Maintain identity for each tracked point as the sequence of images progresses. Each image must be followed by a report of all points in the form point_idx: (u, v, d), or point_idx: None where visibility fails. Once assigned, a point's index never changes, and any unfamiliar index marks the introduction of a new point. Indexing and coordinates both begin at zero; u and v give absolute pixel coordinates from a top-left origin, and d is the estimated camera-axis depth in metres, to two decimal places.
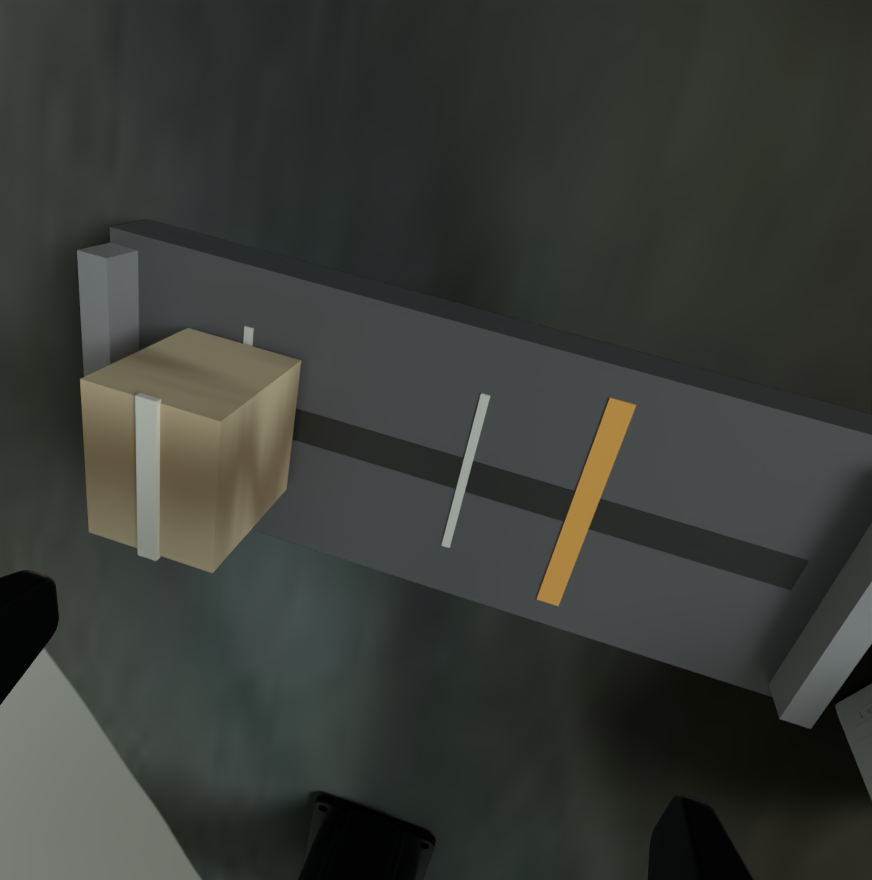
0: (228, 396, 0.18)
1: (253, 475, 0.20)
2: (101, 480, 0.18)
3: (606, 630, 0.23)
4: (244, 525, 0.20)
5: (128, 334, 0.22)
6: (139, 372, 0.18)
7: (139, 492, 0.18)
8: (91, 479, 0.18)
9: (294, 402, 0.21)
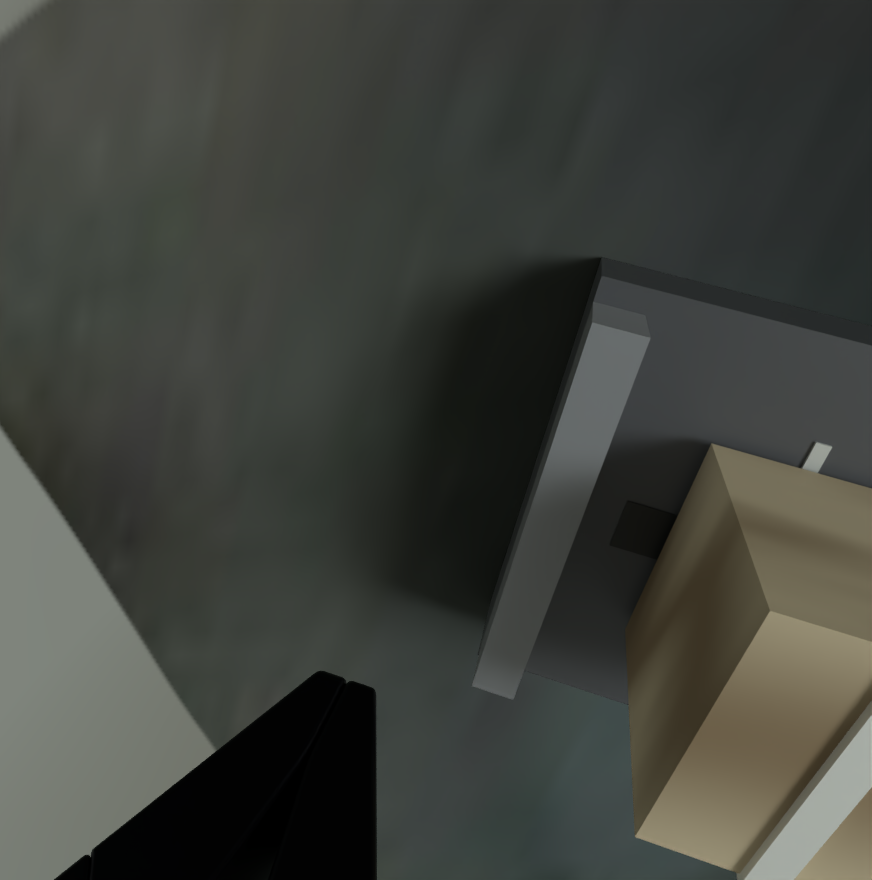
0: None
1: None
2: (715, 770, 0.10)
3: None
4: None
5: None
6: (811, 573, 0.09)
7: (811, 803, 0.09)
8: (690, 766, 0.10)
9: None
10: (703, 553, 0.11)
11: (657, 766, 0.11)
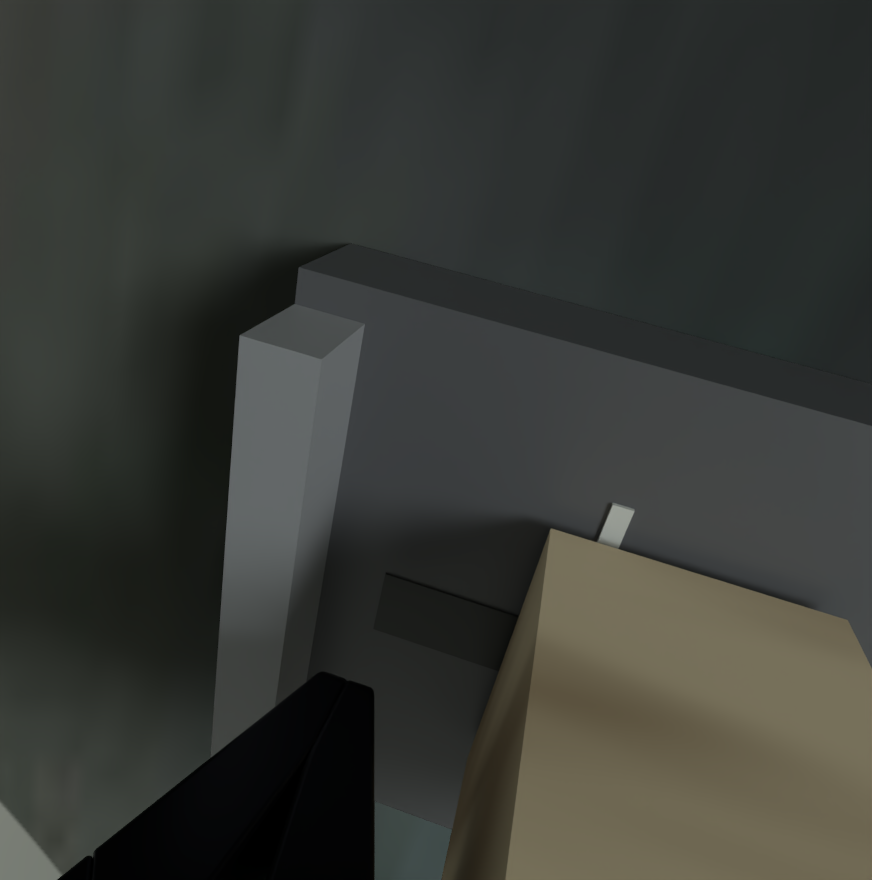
0: None
1: None
2: None
3: None
4: None
5: (323, 511, 0.09)
6: (618, 799, 0.05)
7: None
8: None
9: None
10: (509, 707, 0.08)
11: None
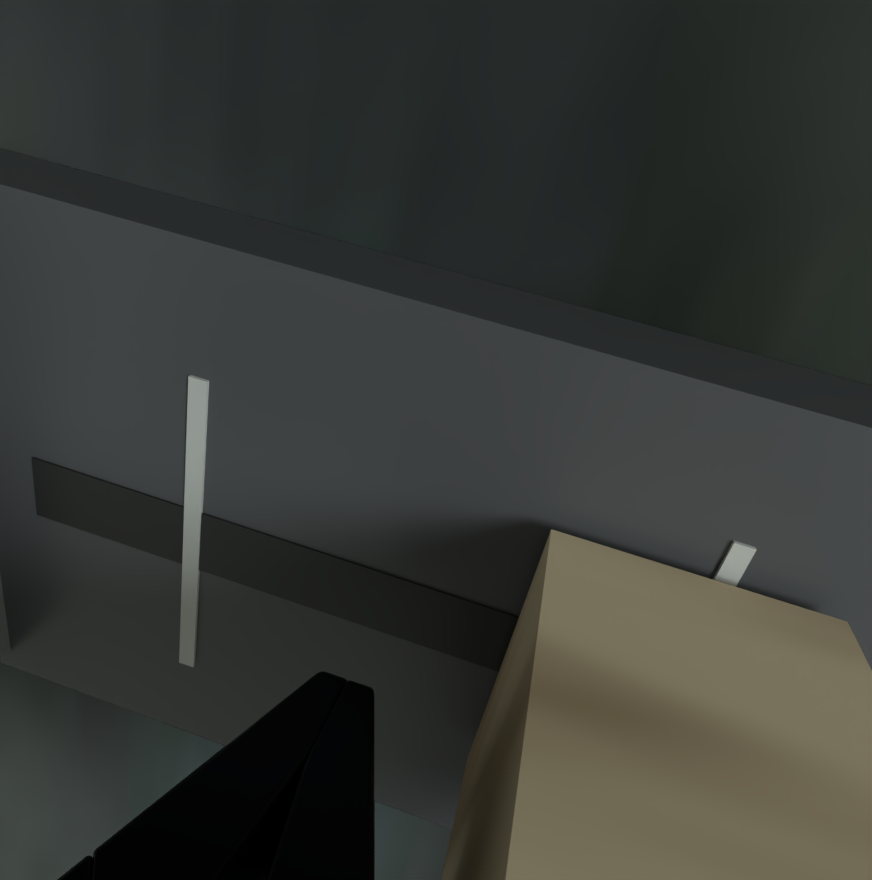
0: None
1: None
2: None
3: None
4: None
5: None
6: (618, 800, 0.06)
7: None
8: None
9: None
10: (508, 708, 0.08)
11: None
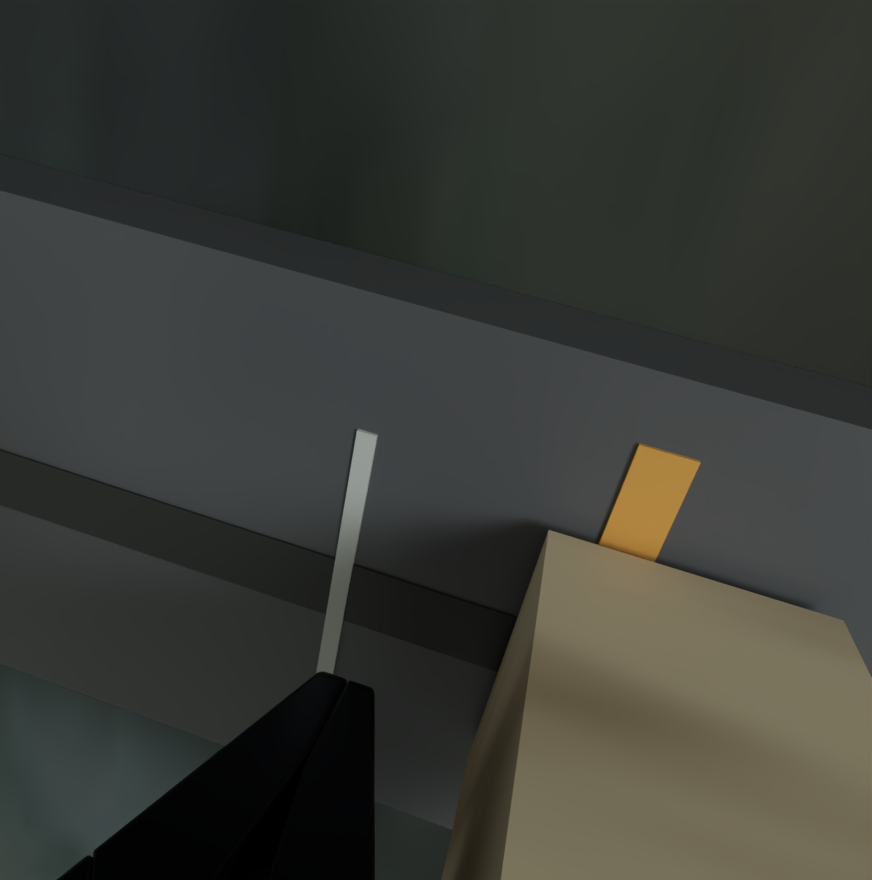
0: None
1: None
2: None
3: None
4: None
5: None
6: (613, 797, 0.06)
7: None
8: None
9: None
10: (507, 707, 0.08)
11: None
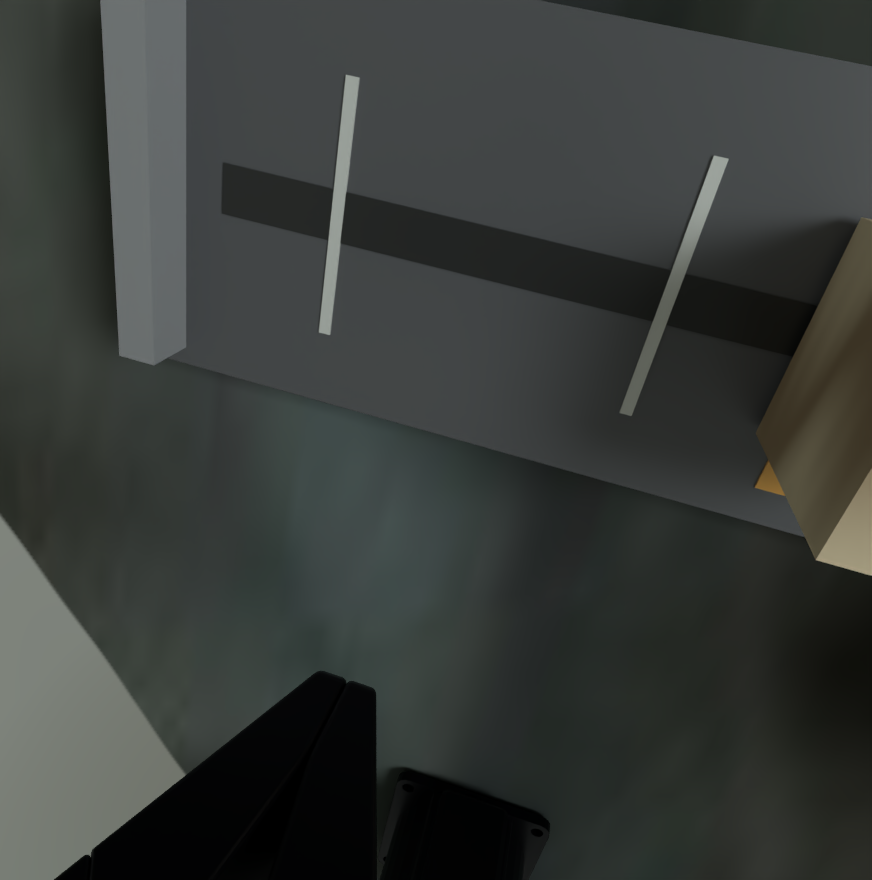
0: None
1: None
2: None
3: None
4: None
5: (172, 99, 0.15)
6: None
7: None
8: None
9: None
10: (871, 299, 0.12)
11: (837, 490, 0.11)
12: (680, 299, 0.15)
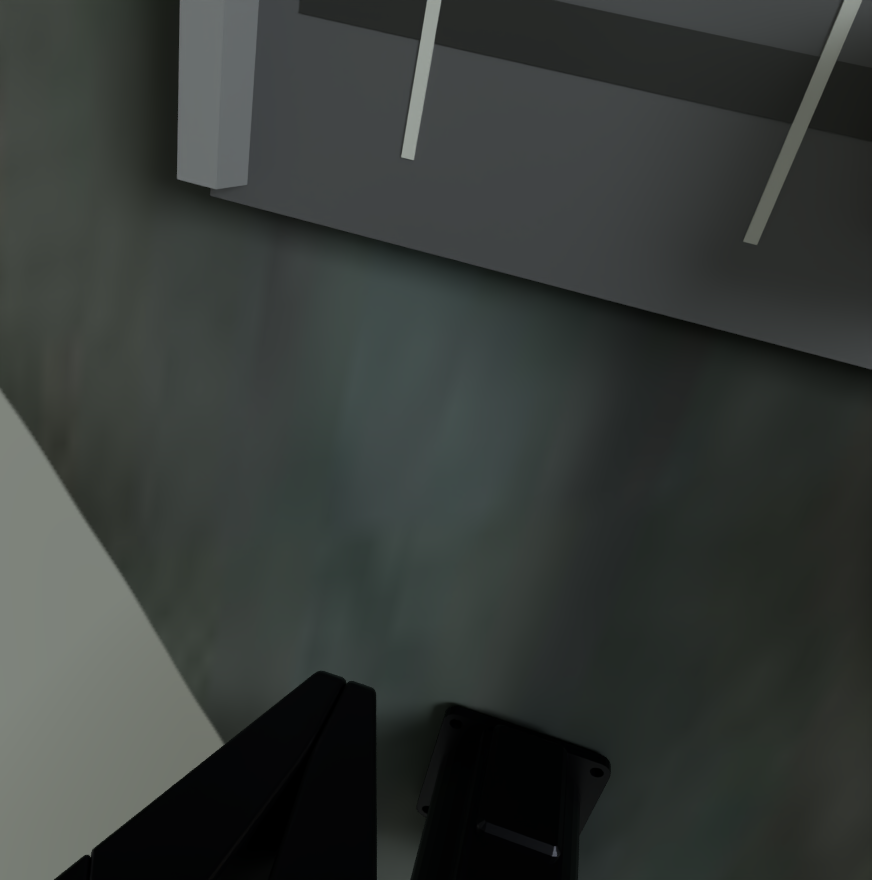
0: None
1: None
2: None
3: None
4: None
5: None
6: None
7: None
8: None
9: None
10: None
11: None
12: (827, 93, 0.13)
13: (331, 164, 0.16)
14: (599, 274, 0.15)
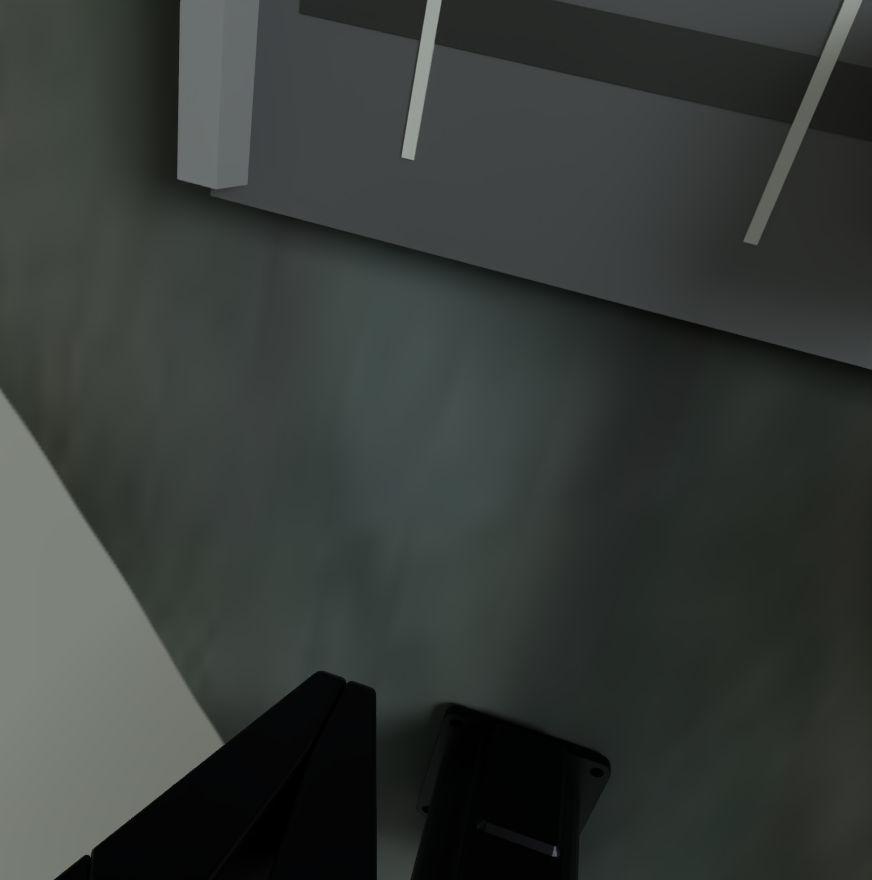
0: None
1: None
2: None
3: None
4: None
5: None
6: None
7: None
8: None
9: None
10: None
11: None
12: (827, 93, 0.13)
13: (331, 164, 0.16)
14: (599, 274, 0.15)
